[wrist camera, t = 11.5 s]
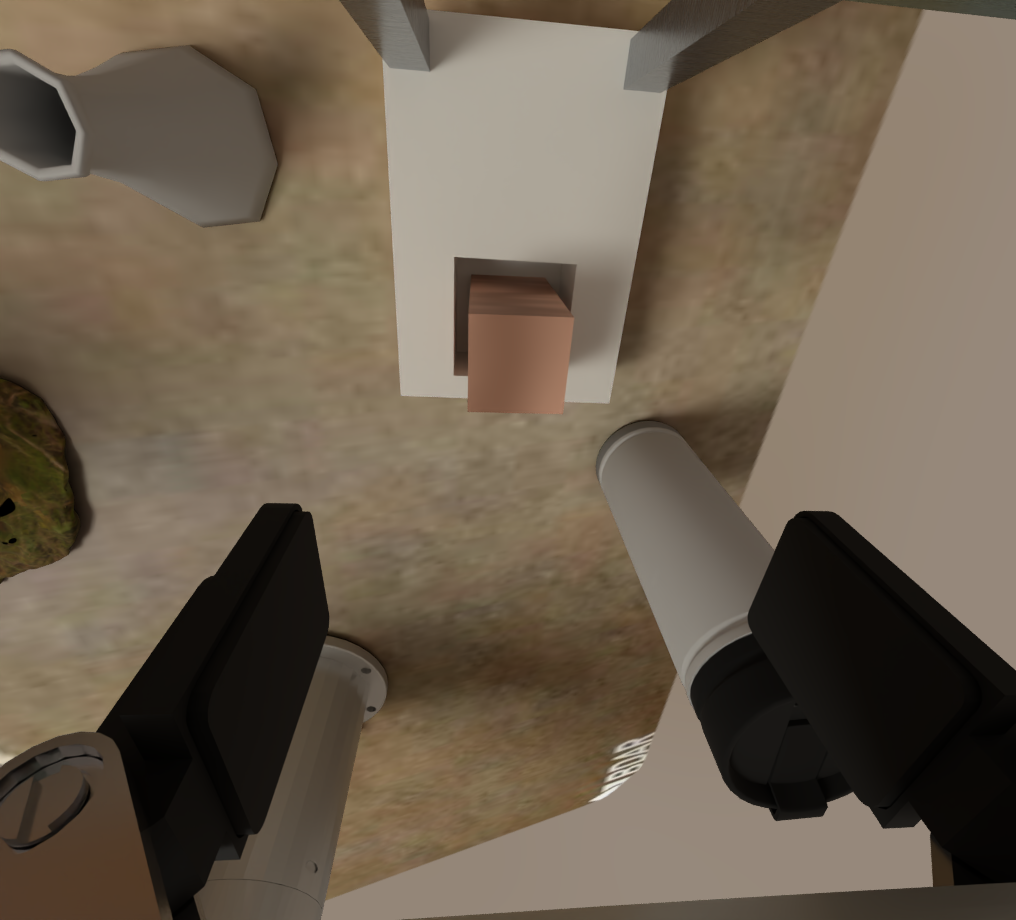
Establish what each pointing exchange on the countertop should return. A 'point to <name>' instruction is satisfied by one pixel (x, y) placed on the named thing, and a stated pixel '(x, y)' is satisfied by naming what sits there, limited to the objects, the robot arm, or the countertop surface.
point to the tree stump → (32, 485)
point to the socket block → (516, 187)
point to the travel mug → (714, 617)
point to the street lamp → (649, 32)
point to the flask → (143, 130)
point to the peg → (517, 345)
